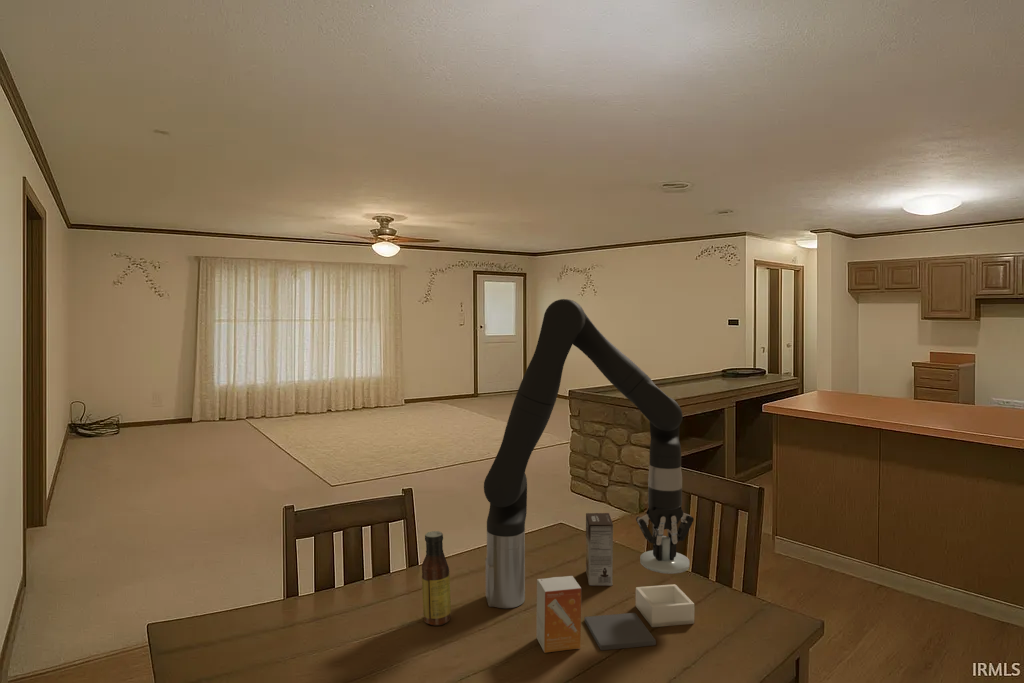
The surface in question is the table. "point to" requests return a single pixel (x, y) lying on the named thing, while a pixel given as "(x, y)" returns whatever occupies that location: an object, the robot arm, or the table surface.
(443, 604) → the sauce bottle
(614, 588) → the table surface
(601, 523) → the coffee box
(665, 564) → the lid
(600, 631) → the mat
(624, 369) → the robot arm
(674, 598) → the open square container
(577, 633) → the small box
